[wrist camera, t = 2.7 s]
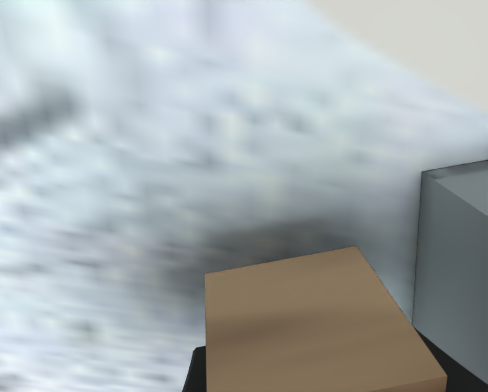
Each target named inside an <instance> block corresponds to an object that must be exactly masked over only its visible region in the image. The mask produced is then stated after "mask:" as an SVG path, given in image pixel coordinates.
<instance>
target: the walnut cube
mask: <svg viewBox="0 0 488 392" xmlns="http://www.w3.org/2000/svg"><path fill="white" fill-rule="evenodd" d="M205 320H206V376H207V392H445V391H446V382H447V375H446V373H445V372H444V370H443V369H442V368H441V366H440V365H439V363H438V362H437V360H436V359H435V358H434V356H433V355H432V353H431V352H430V350H429V349H428V347H427V346H426V345H425V343H424V342H423V340H422V339H421V337H420V336H419V335H418V333H417V332H416V330H415V329H414V327H413V326H412V325H411V323H410V322H409V320H408V319H407V317H406V316H405V315H404V313H403V312H402V310H401V309H400V307H399V306H398V305H397V303H396V302H395V300H394V299H393V297H392V296H391V295H390V293H389V292H388V290H387V289H386V287H385V286H384V284H383V283H382V282H381V280H380V279H379V277H378V276H377V274H376V273H375V272H374V270H373V269H372V267H371V266H370V264H369V263H368V262H367V260H366V259H365V257H364V256H363V254H362V253H361V252H360V250H359V249H358V247H357V246H354V247H349V248H343V249H338V250H332V251H327V252H321V253H316V254H310V255H305V256H299V257H294V258H289V259H283V260H278V261H272V262H267V263H261V264H256V265H250V266H245V267H240V268H234V269H229V270H223V271H218V272H212V273H207V274H205Z"/></svg>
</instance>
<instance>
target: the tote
mask: <svg viewBox="0 0 488 392" xmlns="http://www.w3.org/2000/svg"><path fill="white" fill-rule="evenodd" d="M412 326H413V327H415V328H416V329H417V330H418V331H419V332H421V333H422V334H423V335H424V336H425V337H427V338H428V339H429V340H430V341H431V342H433V343H434V344H435V345H436V346H438V347H439V348H440V349H441V350H443V351H444V352H445V353H446V354H448V355H449V356H450V357H452V358H453V359H454V360H455V361H457V362H458V363H459V364H461V365H462V366H463V367H465V368H466V369H467V370H469V371H470V372H471V373H473V374H474V375H475V376H477V377H478V378H480V379H481V380H482V381H484V382H485V383H487V384H488V160H486V161H480V162H475V163H469V164H463V165H458V166H452V167H447V168H441V169H435V170H430V171H424V172H422V184H421V199H420V214H419V230H418V245H417V261H416V276H415V292H414V307H413V322H412Z"/></svg>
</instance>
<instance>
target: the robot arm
mask: <svg viewBox="0 0 488 392" xmlns="http://www.w3.org/2000/svg"><path fill="white" fill-rule="evenodd" d="M414 329H415V330H416V332H417V333H418V335H419V336H420V337H421V339H422V340H423V342H424V343H425V345H426V346H427V347H428V349H429V350H430V352H431V353H432V355H433V356H434V358H435V359H436V360H437V362H438V363H439V365H440V366H441V368H442V369H443V370H444V372H445V373H446V375H447V382H446V391H445V392H488V384H487V383H485V382H484V381H482V380H481V379H480V378H478V377H477V376H475V375H474V374H473V373H471V372H470V371H469V370H467V369H466V368H465V367H463V366H462V365H461V364H459V363H458V362H457V361H455V360H454V359H453V358H452V357H450V356H449V355H448V354H446V353H445V352H444V351H443V350H441V349H440V348H439V347H438V346H436V345H435V344H434V343H433V342H431V341H430V340H429V339H428V338H427V337H425V336H424V335H423V334H422V333H421V332H419V331H418V330H417V329H416V328H415V327H414ZM182 392H207V376H206V346H202V347H197V348H195V350H194V351H193V355H192V359H191V363H190V367H189V371H188V374H187V378H186V381H185V384H184V387H183V390H182Z"/></svg>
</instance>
